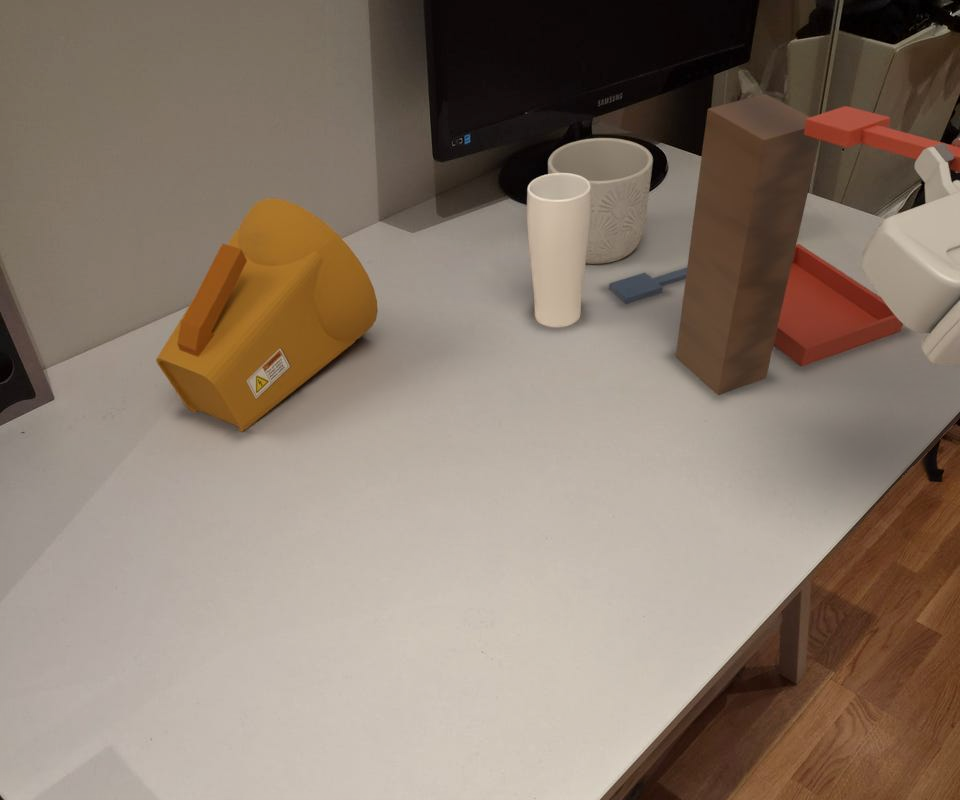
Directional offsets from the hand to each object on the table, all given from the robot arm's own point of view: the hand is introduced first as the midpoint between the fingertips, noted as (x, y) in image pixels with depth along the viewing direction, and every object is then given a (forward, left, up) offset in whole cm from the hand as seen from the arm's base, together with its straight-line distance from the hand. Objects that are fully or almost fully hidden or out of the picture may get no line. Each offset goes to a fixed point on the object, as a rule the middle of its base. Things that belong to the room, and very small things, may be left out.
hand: (942, 147), depth 62 cm
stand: (+2, -17, -27) cm, 32 cm away
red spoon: (0, -3, -1) cm, 3 cm away
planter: (0, -47, -28) cm, 54 cm away
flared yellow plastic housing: (+45, -40, -28) cm, 66 cm away
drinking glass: (+12, -35, -28) cm, 46 cm away
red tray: (-12, -22, -27) cm, 37 cm away
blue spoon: (-5, -35, -27) cm, 44 cm away
